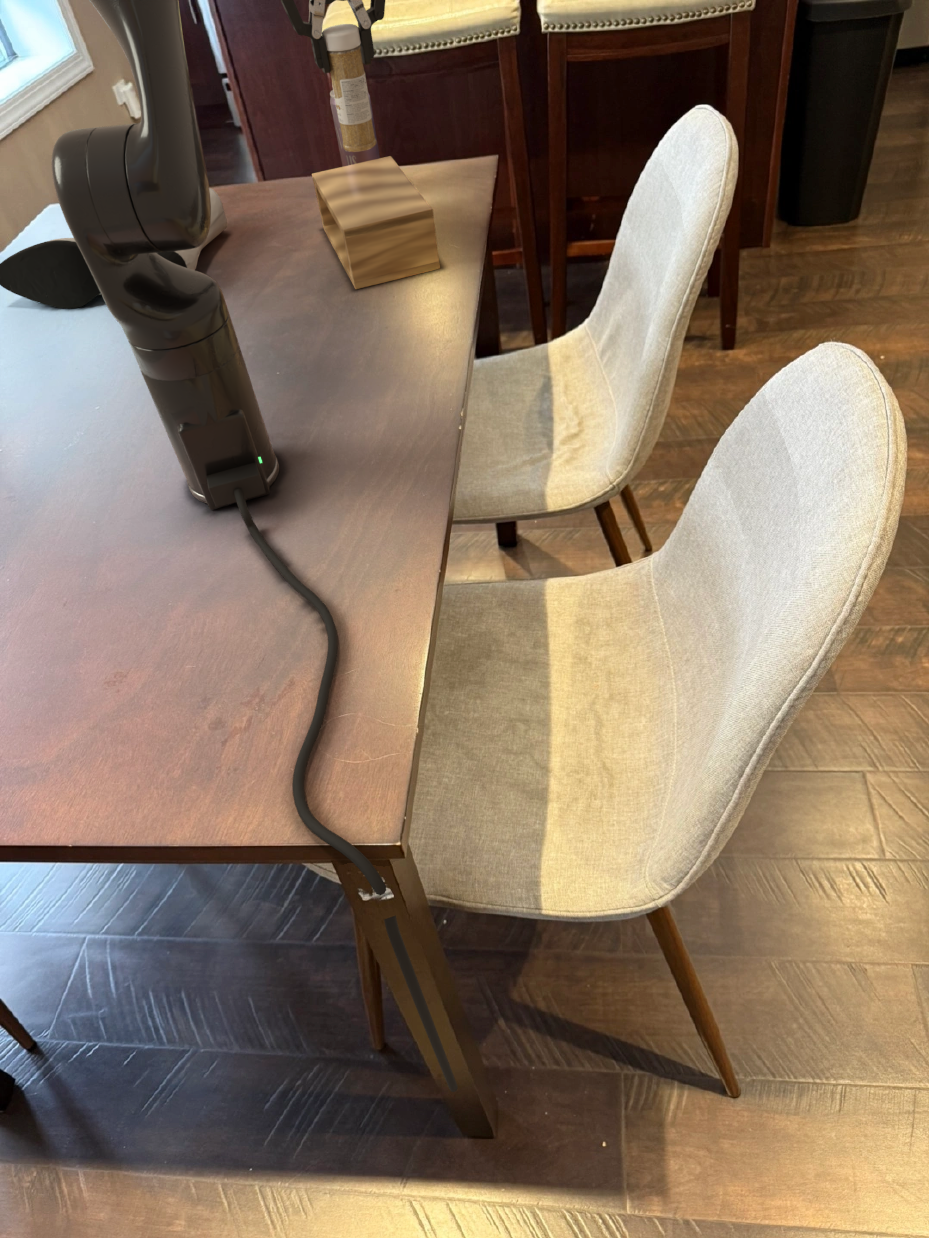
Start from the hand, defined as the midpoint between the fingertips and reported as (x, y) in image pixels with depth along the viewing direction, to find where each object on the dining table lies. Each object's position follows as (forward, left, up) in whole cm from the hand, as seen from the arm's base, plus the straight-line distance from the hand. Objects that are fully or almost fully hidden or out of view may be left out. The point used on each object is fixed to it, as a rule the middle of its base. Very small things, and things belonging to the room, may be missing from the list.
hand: (346, 67), depth 108 cm
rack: (0, 0, -23) cm, 23 cm away
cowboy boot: (+14, +35, -23) cm, 44 cm away
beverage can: (+20, -3, -23) cm, 31 cm away
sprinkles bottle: (0, 0, -10) cm, 10 cm away
